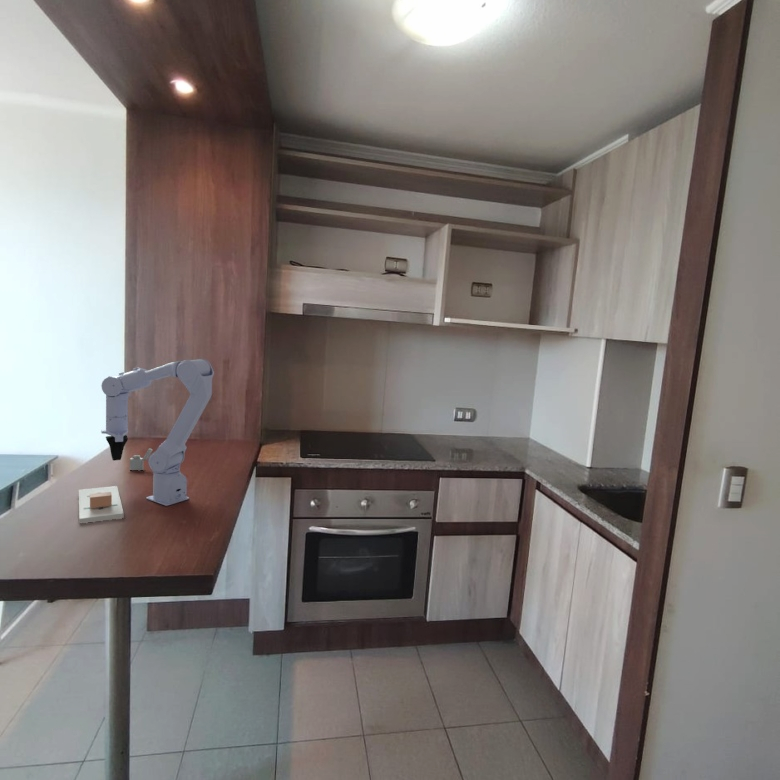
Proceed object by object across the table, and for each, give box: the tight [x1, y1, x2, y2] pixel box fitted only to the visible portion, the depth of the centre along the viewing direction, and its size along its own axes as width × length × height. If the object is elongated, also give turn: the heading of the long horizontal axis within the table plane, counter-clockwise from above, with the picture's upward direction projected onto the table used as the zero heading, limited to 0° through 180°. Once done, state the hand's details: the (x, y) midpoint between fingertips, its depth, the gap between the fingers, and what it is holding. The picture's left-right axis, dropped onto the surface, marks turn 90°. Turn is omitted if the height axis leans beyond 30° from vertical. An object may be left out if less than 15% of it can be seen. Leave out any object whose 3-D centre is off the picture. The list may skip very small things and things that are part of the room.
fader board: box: [78, 485, 125, 524], centre depth 138 cm, size 24×10×2 cm, turn 33°
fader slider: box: [90, 492, 112, 508], centre depth 133 cm, size 3×5×3 cm, turn 123°
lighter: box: [129, 447, 153, 471], centre depth 171 cm, size 7×2×8 cm, turn 104°
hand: (116, 459), depth 147 cm, fingers closed
